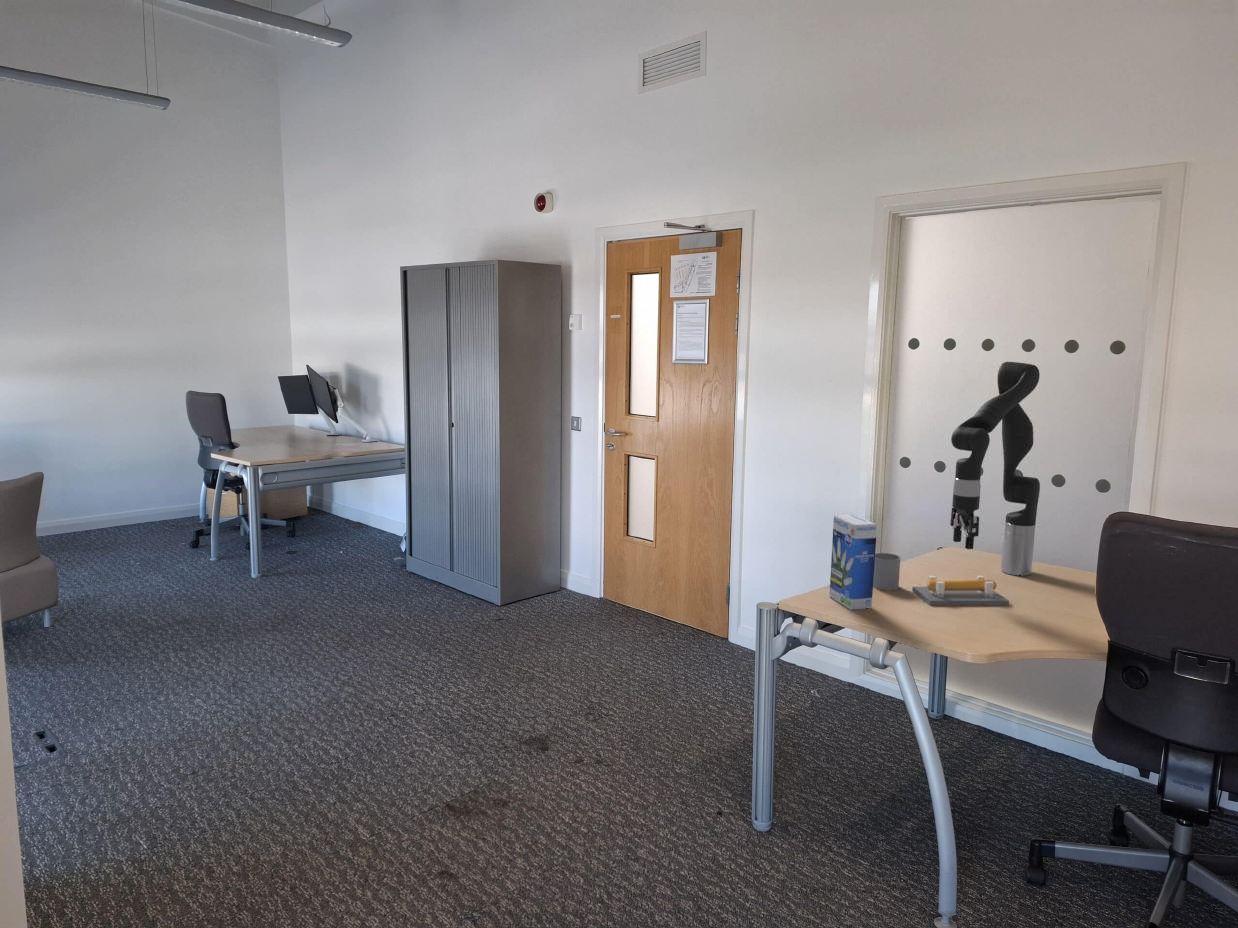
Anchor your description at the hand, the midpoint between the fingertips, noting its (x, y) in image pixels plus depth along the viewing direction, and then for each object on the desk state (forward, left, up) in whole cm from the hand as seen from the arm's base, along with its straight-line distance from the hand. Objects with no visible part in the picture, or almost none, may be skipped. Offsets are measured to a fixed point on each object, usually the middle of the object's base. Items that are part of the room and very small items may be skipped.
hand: (962, 545), depth 254 cm
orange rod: (0, 0, -14) cm, 14 cm away
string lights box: (+4, -35, -17) cm, 39 cm away
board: (0, 0, -17) cm, 17 cm away
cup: (-12, -19, -17) cm, 28 cm away
